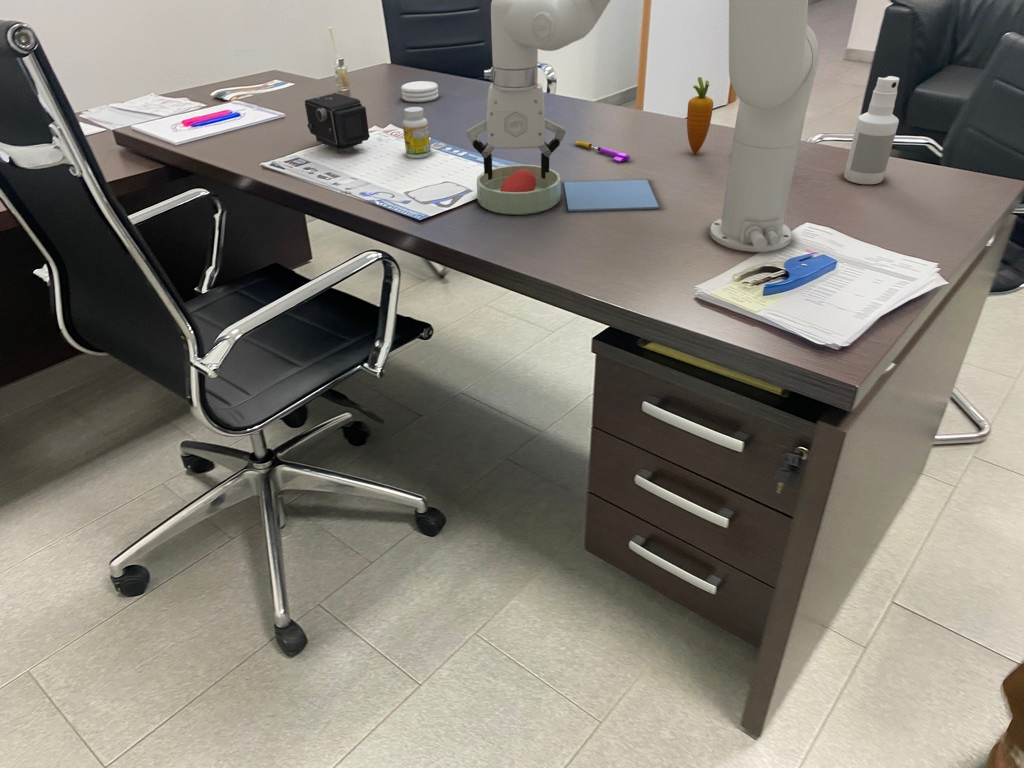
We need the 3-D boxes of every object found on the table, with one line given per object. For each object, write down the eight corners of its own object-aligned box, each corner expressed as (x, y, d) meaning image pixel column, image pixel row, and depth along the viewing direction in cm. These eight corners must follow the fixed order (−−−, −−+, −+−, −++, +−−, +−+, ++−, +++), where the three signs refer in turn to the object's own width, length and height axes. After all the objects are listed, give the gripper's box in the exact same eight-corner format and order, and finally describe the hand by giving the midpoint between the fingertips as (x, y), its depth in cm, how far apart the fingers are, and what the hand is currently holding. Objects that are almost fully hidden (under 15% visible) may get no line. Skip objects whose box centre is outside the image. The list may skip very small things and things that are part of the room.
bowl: (562, 214, 126) (562, 192, 124) (476, 216, 127) (474, 194, 124) (558, 184, 139) (558, 163, 136) (479, 186, 139) (478, 165, 137)
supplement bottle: (433, 156, 155) (428, 110, 149) (408, 159, 154) (403, 113, 148) (428, 149, 159) (423, 104, 154) (404, 152, 158) (398, 107, 152)
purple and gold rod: (631, 159, 149) (578, 143, 159) (630, 154, 148) (577, 138, 158) (622, 165, 148) (569, 148, 158) (621, 159, 147) (568, 143, 157)
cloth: (658, 208, 127) (659, 206, 127) (568, 211, 127) (568, 209, 127) (646, 181, 138) (647, 179, 138) (563, 184, 139) (563, 182, 138)
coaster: (445, 96, 199) (444, 82, 197) (423, 104, 192) (422, 90, 190) (417, 92, 203) (416, 79, 201) (394, 100, 196) (393, 87, 194)
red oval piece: (547, 203, 133) (544, 168, 133) (517, 199, 126) (515, 163, 126) (525, 207, 137) (522, 174, 136) (495, 204, 130) (492, 168, 129)
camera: (307, 152, 164) (341, 160, 154) (294, 100, 158) (328, 104, 148) (346, 142, 169) (382, 148, 159) (335, 90, 164) (371, 94, 154)
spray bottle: (859, 187, 132) (885, 84, 122) (836, 175, 138) (859, 75, 127) (890, 182, 134) (919, 80, 123) (866, 171, 139) (892, 72, 129)
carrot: (707, 157, 149) (716, 81, 140) (682, 157, 150) (690, 80, 141) (706, 150, 153) (716, 75, 144) (683, 149, 154) (690, 75, 145)
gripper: (462, 83, 118) (468, 184, 127) (568, 81, 117) (565, 183, 127) (465, 72, 124) (470, 170, 134) (565, 70, 123) (563, 169, 133)
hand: (516, 176), depth 130 cm, fingers open, 9 cm apart
